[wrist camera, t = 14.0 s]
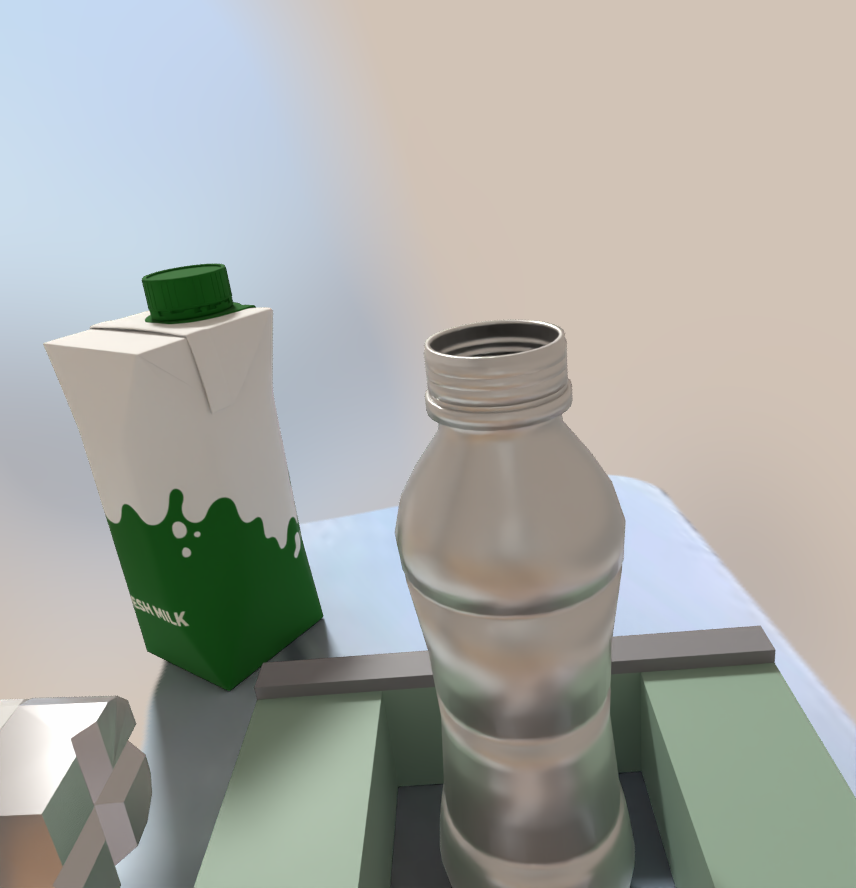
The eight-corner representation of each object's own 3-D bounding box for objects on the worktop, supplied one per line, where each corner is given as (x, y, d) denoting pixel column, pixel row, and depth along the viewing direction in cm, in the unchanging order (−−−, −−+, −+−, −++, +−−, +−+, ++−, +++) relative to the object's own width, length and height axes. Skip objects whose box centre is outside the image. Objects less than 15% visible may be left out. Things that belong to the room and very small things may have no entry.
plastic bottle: (505, 1030, 23) (431, 401, 15) (418, 855, 29) (333, 338, 21) (678, 931, 25) (688, 337, 17) (564, 787, 31) (535, 295, 23)
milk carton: (346, 613, 44) (282, 261, 36) (225, 711, 37) (115, 307, 30) (243, 577, 49) (169, 261, 41) (120, 658, 42) (5, 300, 35)
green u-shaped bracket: (207, 1081, 23) (160, 954, 20) (287, 766, 34) (262, 662, 32) (911, 1055, 21) (940, 916, 19) (753, 735, 32) (760, 625, 30)
